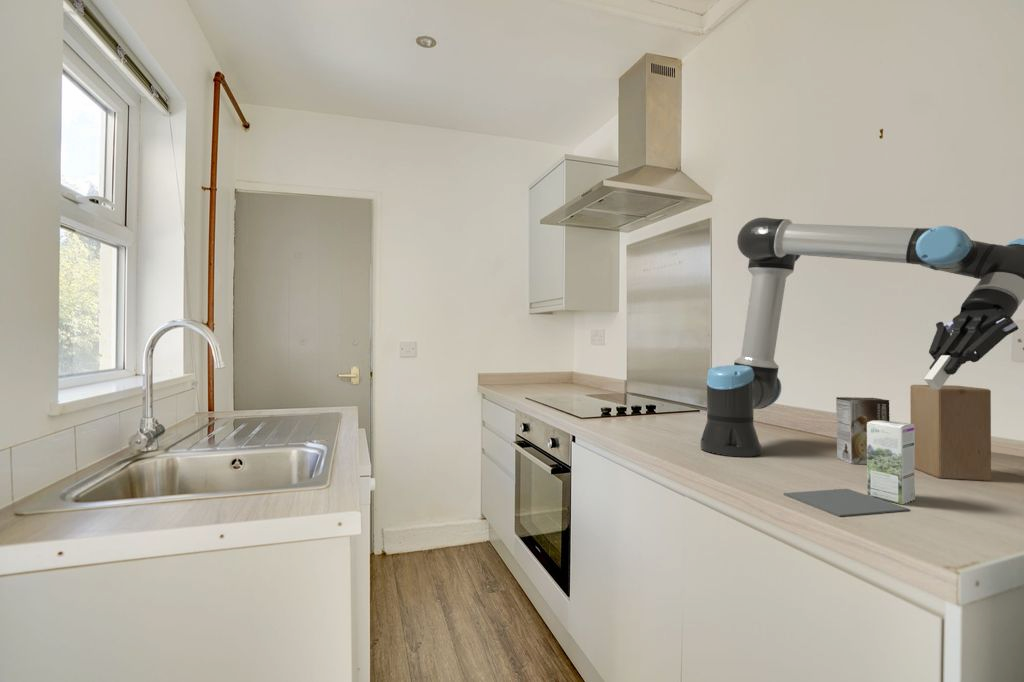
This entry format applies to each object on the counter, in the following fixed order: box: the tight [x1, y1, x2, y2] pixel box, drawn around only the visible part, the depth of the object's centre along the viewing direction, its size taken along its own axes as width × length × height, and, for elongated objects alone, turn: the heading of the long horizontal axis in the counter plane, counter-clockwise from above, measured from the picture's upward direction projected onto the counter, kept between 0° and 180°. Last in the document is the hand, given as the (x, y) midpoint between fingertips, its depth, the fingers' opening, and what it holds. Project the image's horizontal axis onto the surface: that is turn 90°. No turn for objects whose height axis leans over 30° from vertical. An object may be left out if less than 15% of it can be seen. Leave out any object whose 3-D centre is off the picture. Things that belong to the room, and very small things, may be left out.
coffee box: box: [835, 396, 891, 465], centre depth 117 cm, size 9×6×16 cm
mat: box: [783, 488, 911, 518], centre depth 86 cm, size 15×12×1 cm
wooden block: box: [909, 384, 992, 482], centre depth 106 cm, size 10×10×20 cm
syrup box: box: [866, 420, 916, 505], centre depth 88 cm, size 6×6×14 cm
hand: (931, 384), depth 90 cm, fingers closed
